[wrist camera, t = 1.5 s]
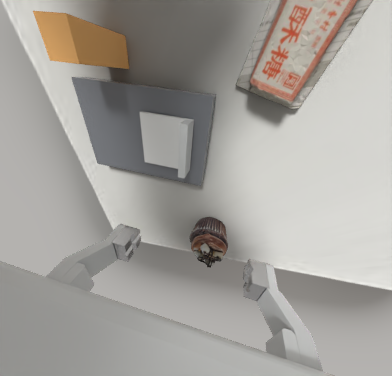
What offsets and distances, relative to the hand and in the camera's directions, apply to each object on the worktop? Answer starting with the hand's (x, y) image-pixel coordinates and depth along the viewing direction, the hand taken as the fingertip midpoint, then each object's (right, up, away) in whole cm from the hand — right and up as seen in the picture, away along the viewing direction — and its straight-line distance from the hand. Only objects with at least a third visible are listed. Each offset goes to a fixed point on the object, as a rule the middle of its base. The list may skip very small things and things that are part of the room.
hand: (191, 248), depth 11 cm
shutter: (-5, +13, +17) cm, 21 cm away
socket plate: (-9, +15, +20) cm, 27 cm away
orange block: (-13, +26, +14) cm, 32 cm away
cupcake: (+4, -6, +31) cm, 32 cm away
